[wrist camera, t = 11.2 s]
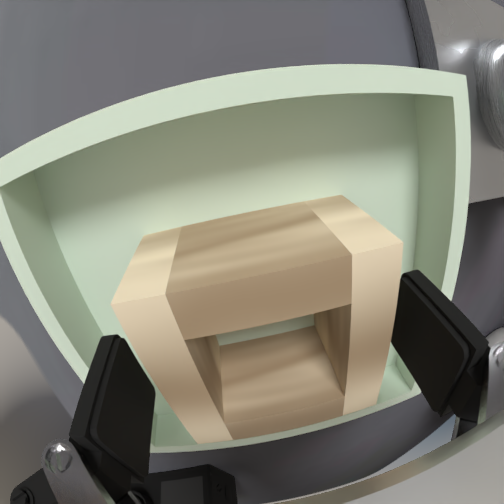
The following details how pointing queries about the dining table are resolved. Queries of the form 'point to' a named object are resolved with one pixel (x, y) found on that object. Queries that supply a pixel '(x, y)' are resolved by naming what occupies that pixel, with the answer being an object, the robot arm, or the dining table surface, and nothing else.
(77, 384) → the dining table surface
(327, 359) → the wooden square frame
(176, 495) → the digital camera
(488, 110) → the grey stand
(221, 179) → the tray
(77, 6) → the dining table surface
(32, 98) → the dining table surface
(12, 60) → the dining table surface
